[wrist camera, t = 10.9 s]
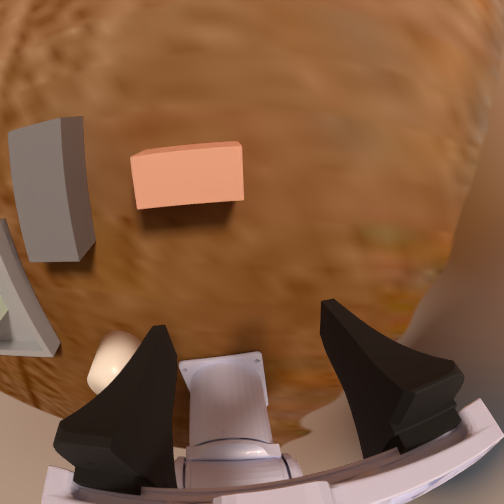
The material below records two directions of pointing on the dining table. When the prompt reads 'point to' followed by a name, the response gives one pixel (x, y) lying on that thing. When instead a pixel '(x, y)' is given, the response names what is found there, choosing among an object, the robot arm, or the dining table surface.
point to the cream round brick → (111, 358)
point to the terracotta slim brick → (188, 174)
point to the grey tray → (21, 308)
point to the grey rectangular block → (52, 189)
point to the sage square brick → (2, 308)
